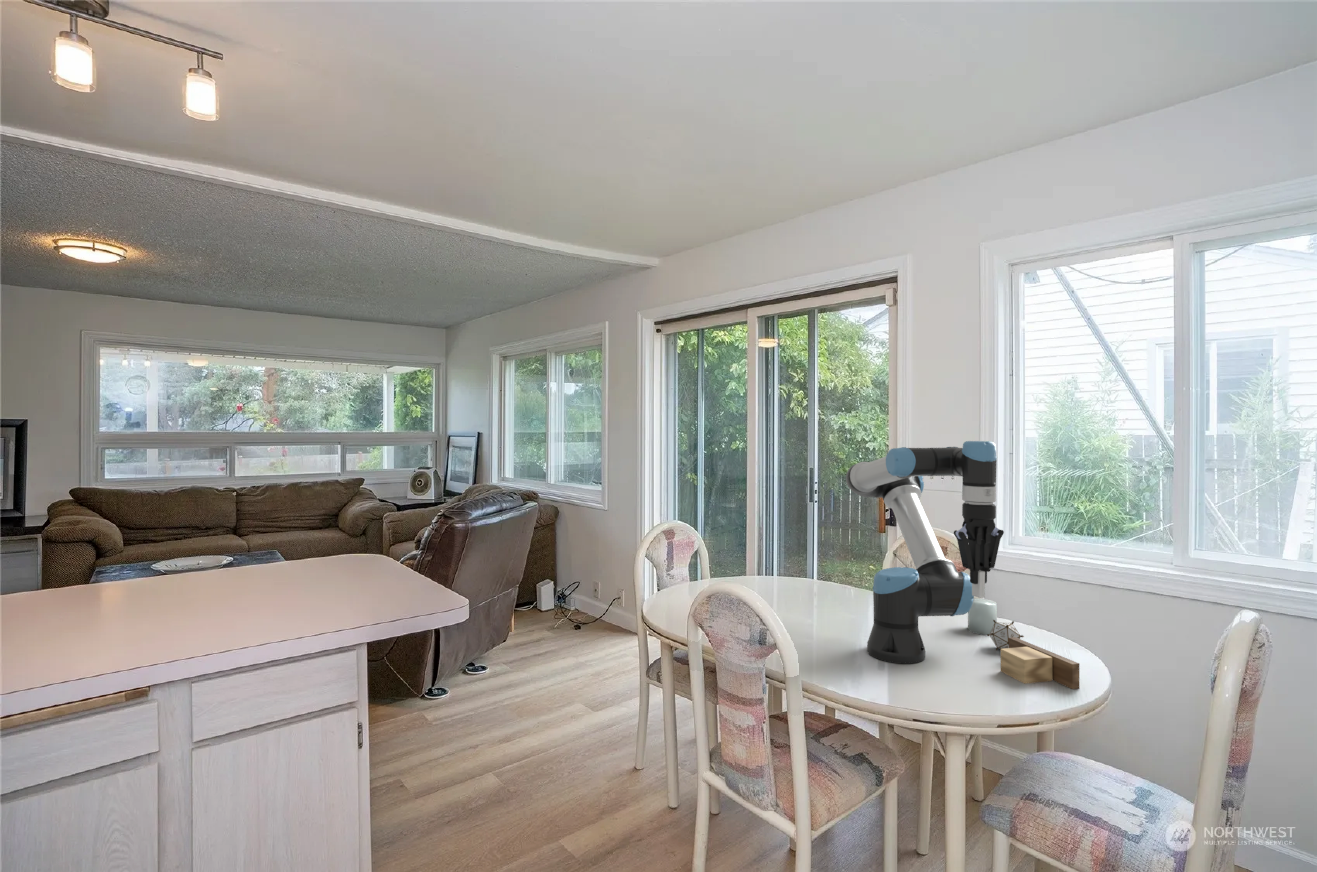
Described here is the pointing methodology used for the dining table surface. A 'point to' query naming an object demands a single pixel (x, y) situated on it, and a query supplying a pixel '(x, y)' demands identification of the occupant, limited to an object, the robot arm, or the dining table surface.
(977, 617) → the sage green cylinder
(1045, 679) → the block
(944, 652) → the dining table surface
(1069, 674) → the board
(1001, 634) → the game die
